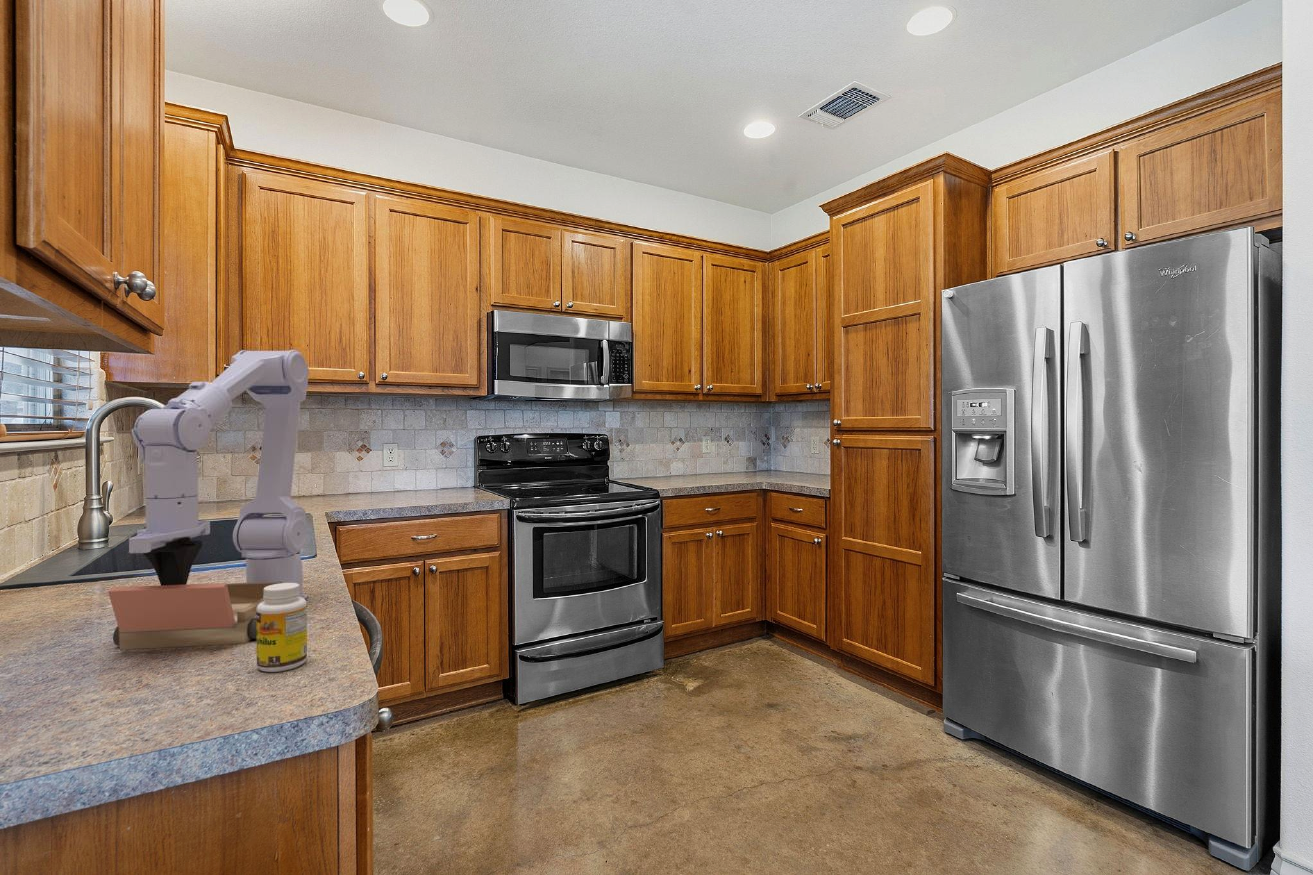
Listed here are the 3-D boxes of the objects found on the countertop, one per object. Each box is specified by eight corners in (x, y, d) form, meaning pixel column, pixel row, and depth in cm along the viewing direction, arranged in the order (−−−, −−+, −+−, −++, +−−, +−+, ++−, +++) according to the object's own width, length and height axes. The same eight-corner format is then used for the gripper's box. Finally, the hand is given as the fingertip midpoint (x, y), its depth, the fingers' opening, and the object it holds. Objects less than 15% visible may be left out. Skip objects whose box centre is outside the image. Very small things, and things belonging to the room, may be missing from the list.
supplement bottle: (247, 668, 80) (246, 588, 80) (291, 655, 85) (290, 579, 85) (272, 677, 77) (271, 593, 77) (316, 662, 82) (315, 583, 82)
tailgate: (123, 629, 87) (111, 587, 85) (237, 624, 89) (228, 582, 87) (119, 634, 86) (106, 591, 84) (234, 629, 88) (224, 587, 86)
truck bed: (164, 624, 99) (164, 585, 99) (289, 618, 102) (289, 581, 102) (110, 650, 87) (110, 606, 87) (253, 643, 90) (253, 600, 90)
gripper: (172, 491, 93) (174, 583, 93) (101, 503, 78) (102, 612, 79) (224, 490, 94) (226, 582, 94) (163, 502, 79) (165, 609, 80)
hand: (173, 595), depth 86 cm, fingers closed, pressing on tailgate
